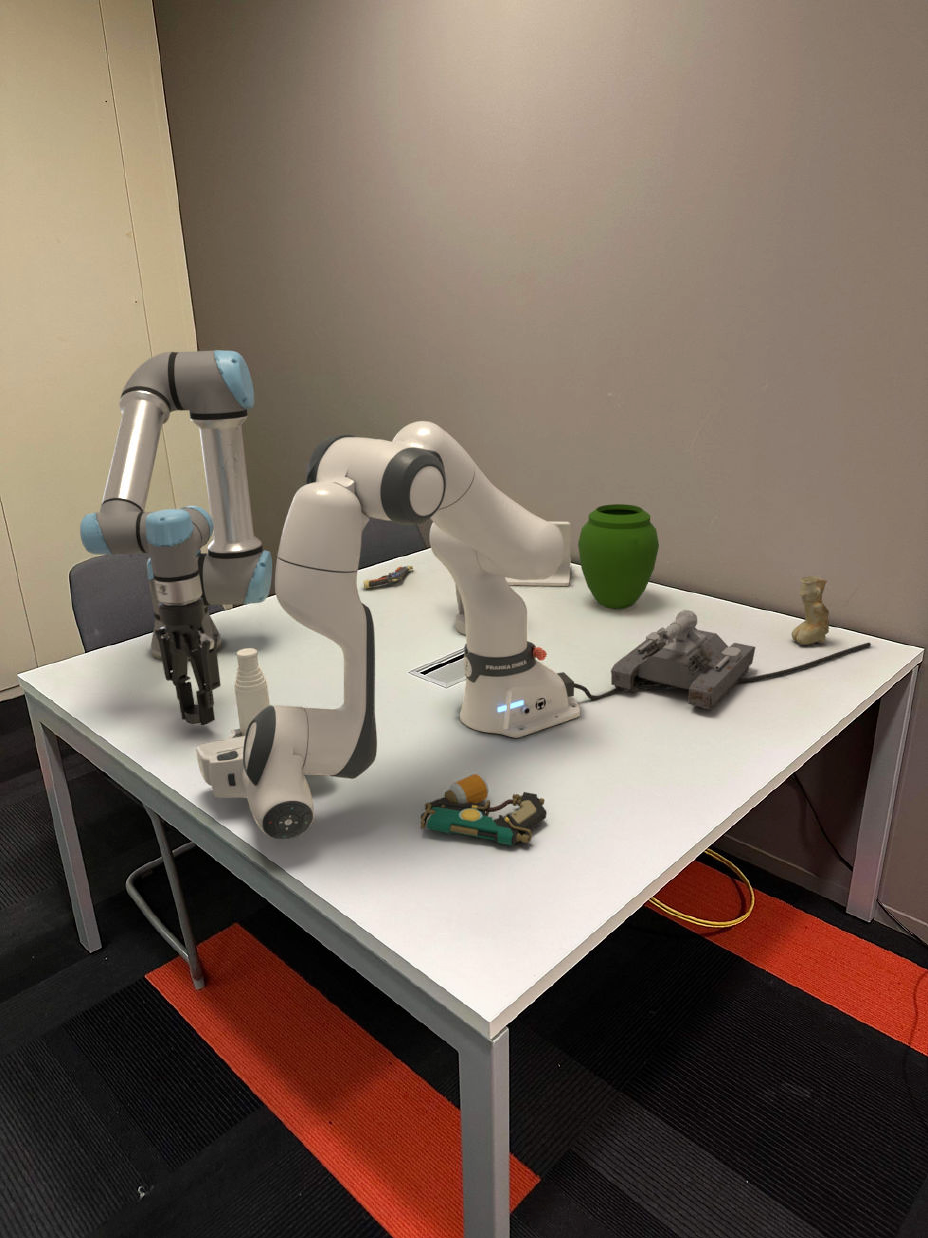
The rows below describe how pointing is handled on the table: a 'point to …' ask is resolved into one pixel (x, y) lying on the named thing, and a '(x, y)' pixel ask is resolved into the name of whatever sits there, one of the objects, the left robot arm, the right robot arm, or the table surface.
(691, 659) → the toy
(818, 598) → the sculpture
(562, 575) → the tablet stand
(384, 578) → the toy gun
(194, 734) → the table surface
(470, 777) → the spray gun
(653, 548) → the vase
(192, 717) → the cap
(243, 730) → the bottle
